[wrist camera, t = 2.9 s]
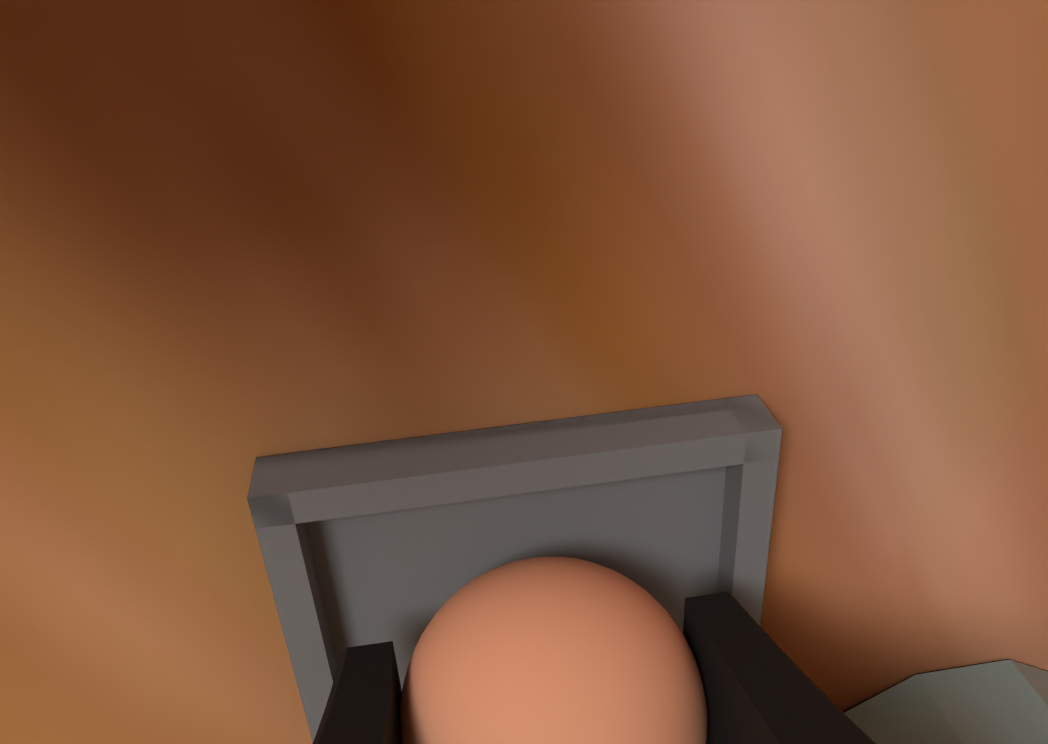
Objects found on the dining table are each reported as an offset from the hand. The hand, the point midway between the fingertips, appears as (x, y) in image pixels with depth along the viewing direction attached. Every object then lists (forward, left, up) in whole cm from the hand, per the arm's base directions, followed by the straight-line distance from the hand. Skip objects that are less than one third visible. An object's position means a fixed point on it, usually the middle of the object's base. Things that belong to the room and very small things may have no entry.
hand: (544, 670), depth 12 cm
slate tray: (0, +3, -2) cm, 3 cm away
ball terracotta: (0, 0, -1) cm, 1 cm away
